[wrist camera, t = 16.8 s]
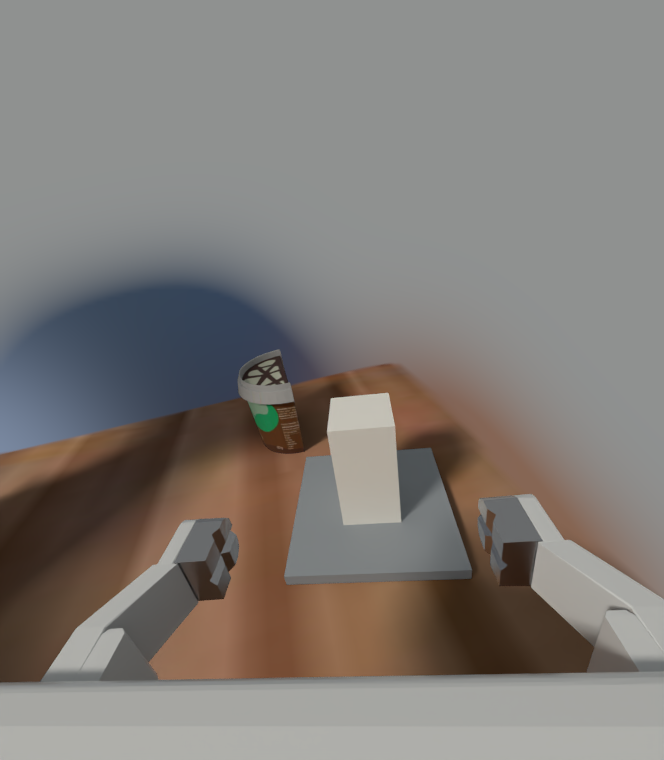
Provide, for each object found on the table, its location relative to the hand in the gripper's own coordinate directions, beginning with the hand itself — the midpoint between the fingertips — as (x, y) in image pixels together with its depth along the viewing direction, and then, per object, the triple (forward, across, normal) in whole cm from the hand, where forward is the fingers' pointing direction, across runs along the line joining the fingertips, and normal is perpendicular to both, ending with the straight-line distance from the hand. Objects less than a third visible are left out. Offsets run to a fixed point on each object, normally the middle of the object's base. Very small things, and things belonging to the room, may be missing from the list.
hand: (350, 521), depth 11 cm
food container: (+28, -12, -16) cm, 35 cm away
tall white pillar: (+15, 0, -15) cm, 21 cm away
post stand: (+15, 0, -16) cm, 22 cm away
